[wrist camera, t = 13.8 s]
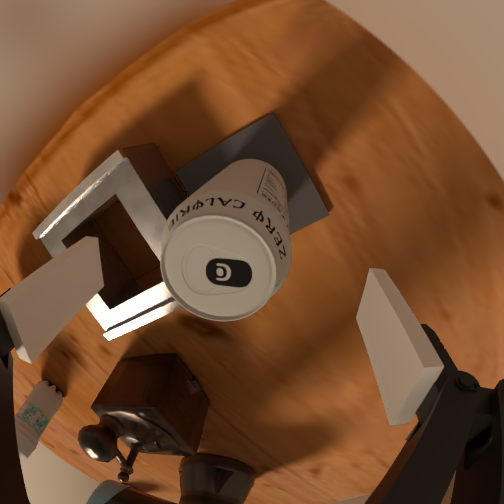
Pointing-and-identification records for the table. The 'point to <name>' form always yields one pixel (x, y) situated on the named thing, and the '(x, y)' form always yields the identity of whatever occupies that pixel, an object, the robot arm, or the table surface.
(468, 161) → the table surface
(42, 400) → the bottle
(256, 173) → the energy drink can
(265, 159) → the mat
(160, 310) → the housing
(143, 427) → the brown manual coffee grinder
